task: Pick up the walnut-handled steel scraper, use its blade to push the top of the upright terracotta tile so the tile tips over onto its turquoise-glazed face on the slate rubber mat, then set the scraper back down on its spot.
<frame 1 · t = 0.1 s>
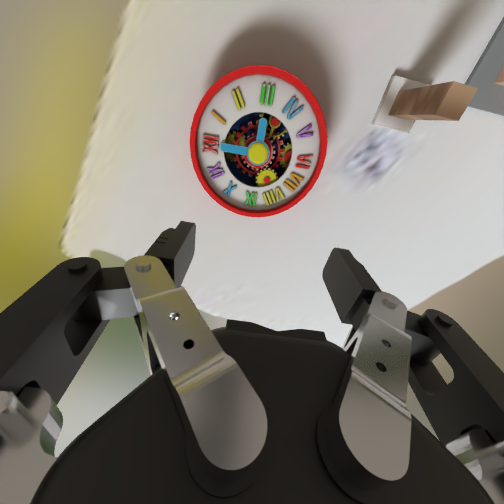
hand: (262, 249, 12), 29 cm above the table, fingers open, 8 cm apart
toy clock: (257, 148, 36), on the table
scraper: (398, 106, 33), on the table
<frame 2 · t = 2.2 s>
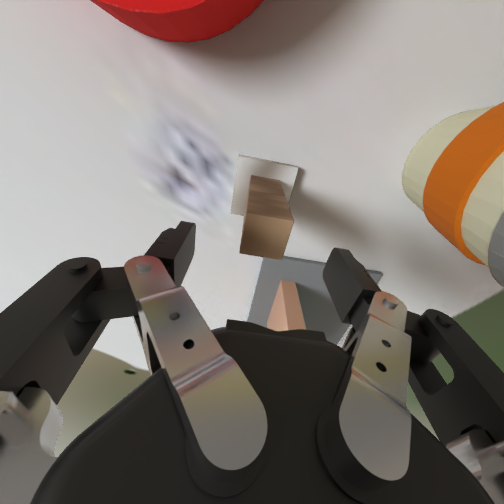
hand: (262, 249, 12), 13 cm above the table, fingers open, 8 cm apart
tile: (283, 332, 27), point 6 cm above the table, touching mat
mat: (305, 304, 32), on the table
reusable coffee cup: (448, 163, 22), on the table
scraper: (262, 189, 23), on the table
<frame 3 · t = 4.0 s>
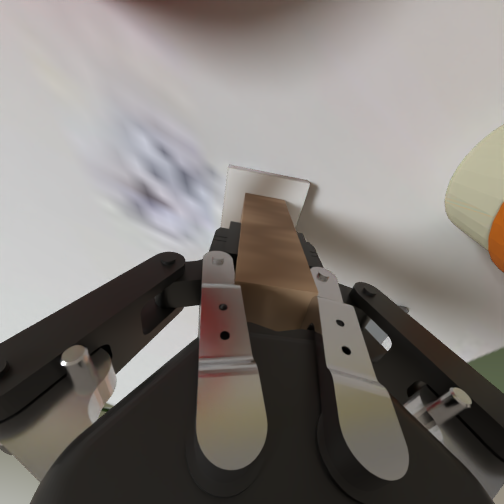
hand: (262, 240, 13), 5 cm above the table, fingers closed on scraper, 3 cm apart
scraper: (260, 210, 17), on the table, touching gripper
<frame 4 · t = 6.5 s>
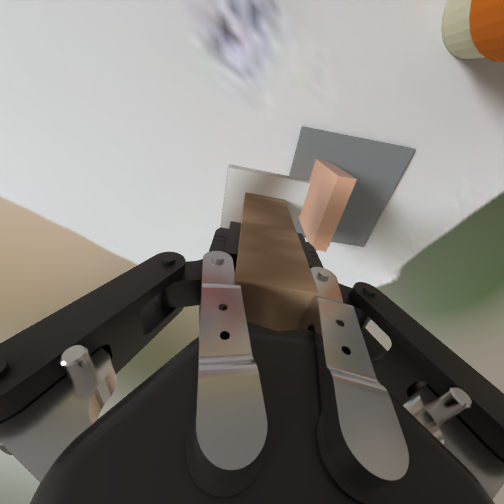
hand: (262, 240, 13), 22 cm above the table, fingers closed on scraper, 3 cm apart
tile: (320, 202, 28), point 6 cm above the table, touching mat
mat: (336, 194, 33), on the table
reusable coffee cup: (488, 3, 22), on the table
scraper: (260, 209, 17), point 17 cm above the table, touching gripper
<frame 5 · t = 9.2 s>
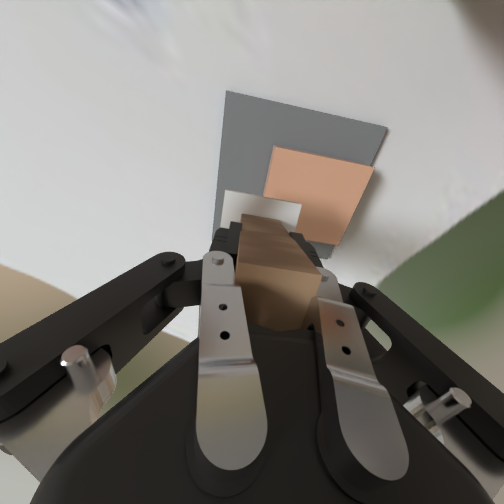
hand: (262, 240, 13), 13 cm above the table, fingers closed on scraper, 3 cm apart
tile: (308, 199, 23), point 2 cm above the table, tilted 90°, touching mat
mat: (286, 190, 25), on the table
scraper: (256, 231, 18), point 9 cm above the table, tilted 13°, touching gripper
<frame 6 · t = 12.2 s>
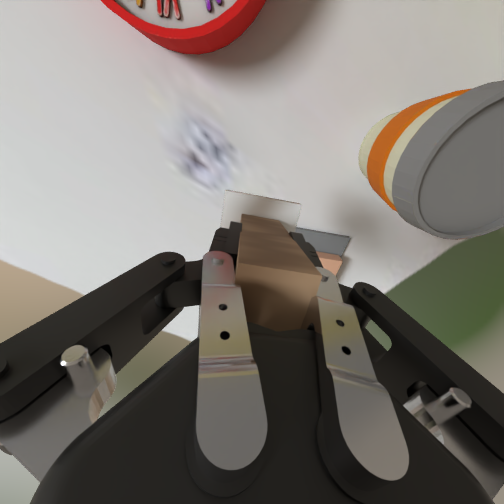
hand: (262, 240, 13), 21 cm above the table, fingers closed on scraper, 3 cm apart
tile: (305, 273, 39), point 2 cm above the table, tilted 90°, touching mat
mat: (291, 265, 41), on the table
reusable coffee cup: (390, 149, 30), on the table
scraper: (256, 232, 18), point 17 cm above the table, tilted 13°, touching gripper
when the fingers open (7 cm above the table, at t = 15.0 s): scraper drops 2 cm, on the table.
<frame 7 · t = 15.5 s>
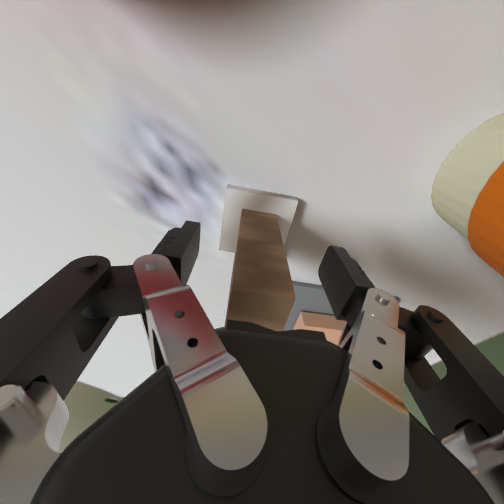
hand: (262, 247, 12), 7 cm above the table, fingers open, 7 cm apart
tile: (329, 347, 27), point 2 cm above the table, tilted 90°, touching mat
mat: (309, 331, 28), on the table
reusable coffee cup: (489, 173, 17), on the table
scraper: (255, 222, 20), on the table
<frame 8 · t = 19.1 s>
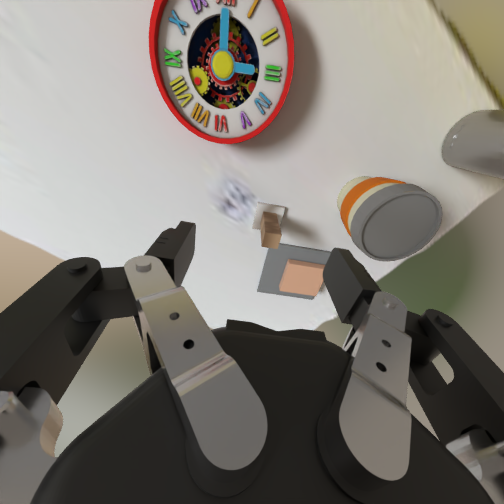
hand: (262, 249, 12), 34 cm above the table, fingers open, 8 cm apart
tile: (302, 278, 55), point 2 cm above the table, tilted 90°, touching mat
toy clock: (227, 71, 35), on the table
mat: (292, 272, 56), on the table
reusable coffee cup: (358, 197, 45), on the table
scraper: (268, 216, 48), on the table
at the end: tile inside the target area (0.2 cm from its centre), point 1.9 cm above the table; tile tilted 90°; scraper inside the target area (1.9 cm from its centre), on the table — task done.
